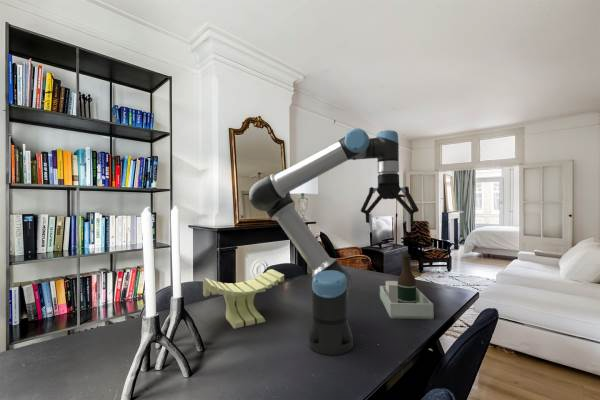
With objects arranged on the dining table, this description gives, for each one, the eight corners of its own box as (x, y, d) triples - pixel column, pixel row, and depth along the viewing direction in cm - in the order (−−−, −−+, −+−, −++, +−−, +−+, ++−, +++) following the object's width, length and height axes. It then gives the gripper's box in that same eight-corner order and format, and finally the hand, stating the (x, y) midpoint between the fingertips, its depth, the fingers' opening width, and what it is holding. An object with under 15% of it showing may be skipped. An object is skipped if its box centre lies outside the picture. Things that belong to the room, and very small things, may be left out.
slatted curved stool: (269, 306, 137) (269, 267, 137) (284, 317, 123) (284, 274, 123) (203, 319, 122) (202, 276, 123) (211, 333, 108) (211, 285, 109)
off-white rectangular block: (389, 302, 136) (388, 285, 136) (385, 297, 144) (385, 280, 144) (415, 303, 135) (415, 285, 135) (411, 297, 143) (410, 281, 143)
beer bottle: (413, 307, 130) (412, 252, 130) (419, 313, 122) (418, 255, 122) (395, 306, 131) (394, 252, 131) (400, 313, 123) (399, 255, 123)
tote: (390, 318, 120) (390, 303, 120) (380, 297, 146) (379, 285, 146) (433, 319, 118) (433, 304, 118) (415, 298, 144) (415, 286, 144)
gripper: (420, 174, 110) (421, 230, 109) (353, 175, 112) (353, 231, 112) (426, 171, 102) (428, 232, 102) (354, 173, 105) (355, 233, 105)
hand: (389, 231), depth 107 cm, fingers open, 13 cm apart
